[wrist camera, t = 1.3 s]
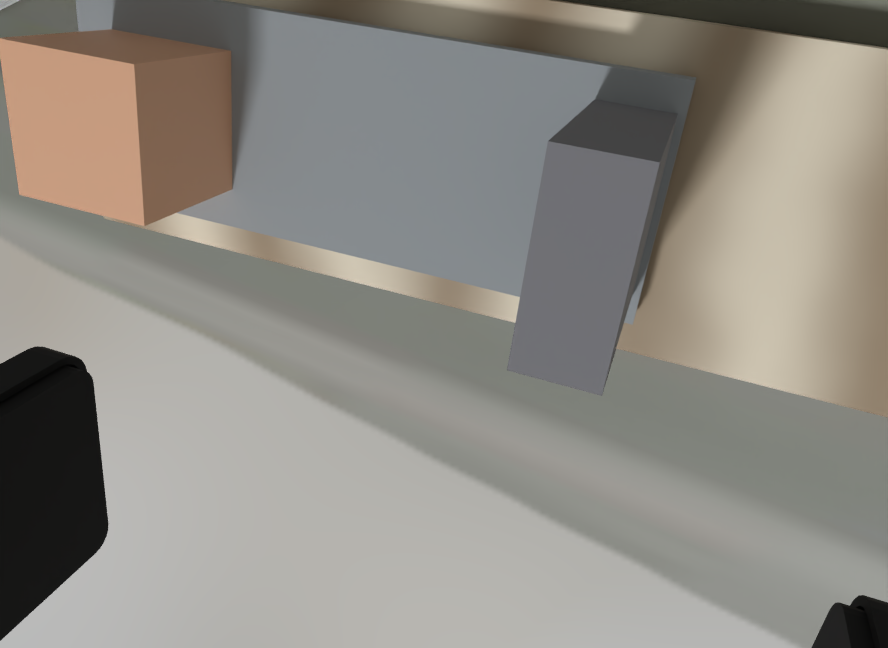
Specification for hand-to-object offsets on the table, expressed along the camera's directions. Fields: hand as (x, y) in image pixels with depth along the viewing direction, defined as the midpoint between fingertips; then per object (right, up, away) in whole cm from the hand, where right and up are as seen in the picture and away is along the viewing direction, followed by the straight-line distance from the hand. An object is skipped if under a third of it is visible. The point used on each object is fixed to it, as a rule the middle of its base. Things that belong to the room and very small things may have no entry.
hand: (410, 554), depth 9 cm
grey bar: (-3, +9, +18) cm, 20 cm away
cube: (-10, +11, +19) cm, 24 cm away
